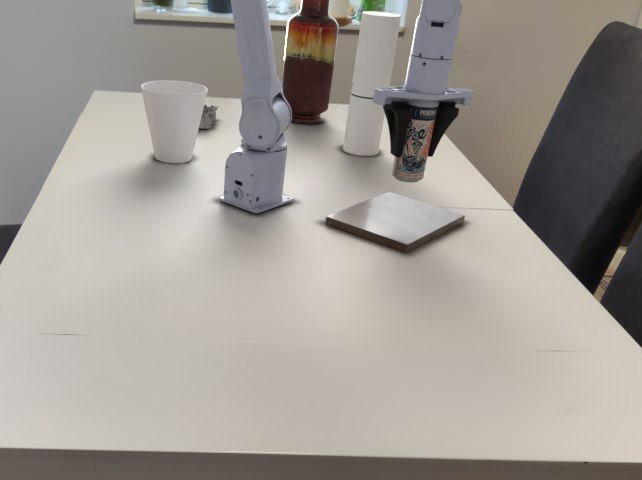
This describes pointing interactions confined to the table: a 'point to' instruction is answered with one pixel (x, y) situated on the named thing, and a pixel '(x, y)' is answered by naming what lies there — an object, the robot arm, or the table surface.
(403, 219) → the serving board
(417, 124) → the beer can
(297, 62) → the vase
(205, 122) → the egg carton
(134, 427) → the table surface
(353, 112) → the cylindrical container
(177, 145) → the cup
